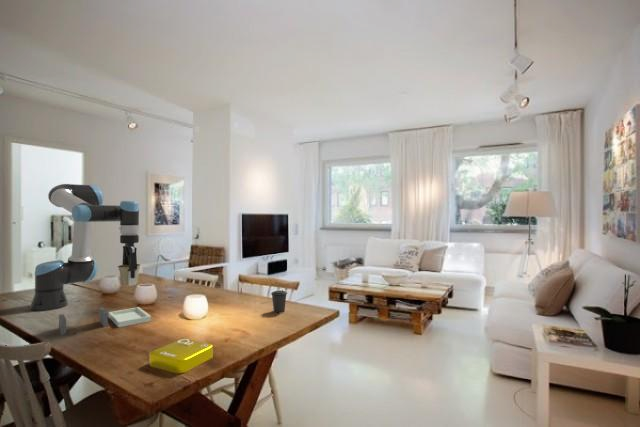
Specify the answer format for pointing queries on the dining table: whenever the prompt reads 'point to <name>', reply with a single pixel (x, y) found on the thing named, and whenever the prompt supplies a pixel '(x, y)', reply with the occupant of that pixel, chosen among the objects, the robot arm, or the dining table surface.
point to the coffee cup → (279, 300)
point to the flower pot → (127, 273)
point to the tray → (129, 317)
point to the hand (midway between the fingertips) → (129, 283)
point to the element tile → (181, 355)
